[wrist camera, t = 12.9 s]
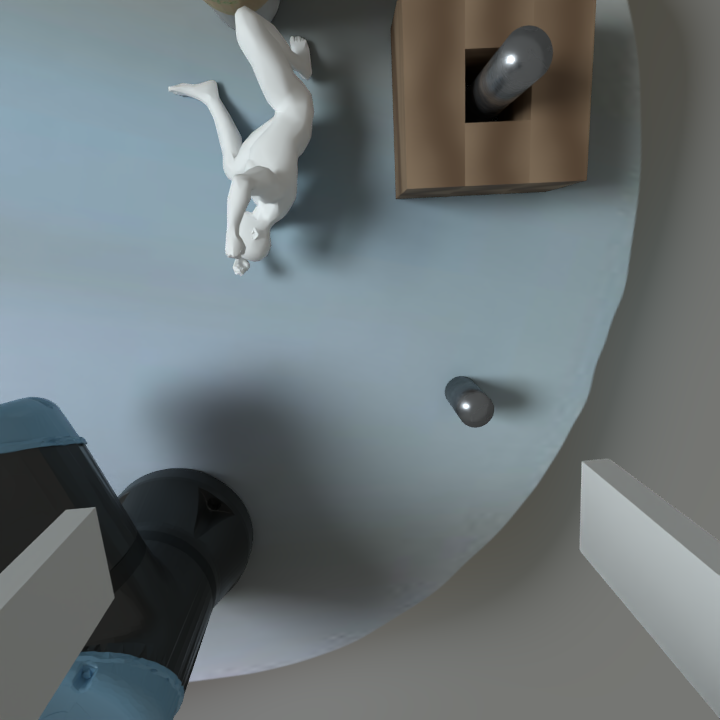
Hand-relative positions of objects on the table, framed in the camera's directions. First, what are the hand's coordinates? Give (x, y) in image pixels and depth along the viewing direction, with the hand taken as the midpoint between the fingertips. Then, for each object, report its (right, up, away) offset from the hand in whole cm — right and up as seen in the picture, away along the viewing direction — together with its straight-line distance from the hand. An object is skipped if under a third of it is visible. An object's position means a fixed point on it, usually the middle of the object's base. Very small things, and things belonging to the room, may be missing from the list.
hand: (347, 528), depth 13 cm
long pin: (+10, +27, +31) cm, 42 cm away
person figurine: (-8, +23, +31) cm, 40 cm away
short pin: (+11, +1, +37) cm, 38 cm away
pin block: (+10, +27, +31) cm, 42 cm away
